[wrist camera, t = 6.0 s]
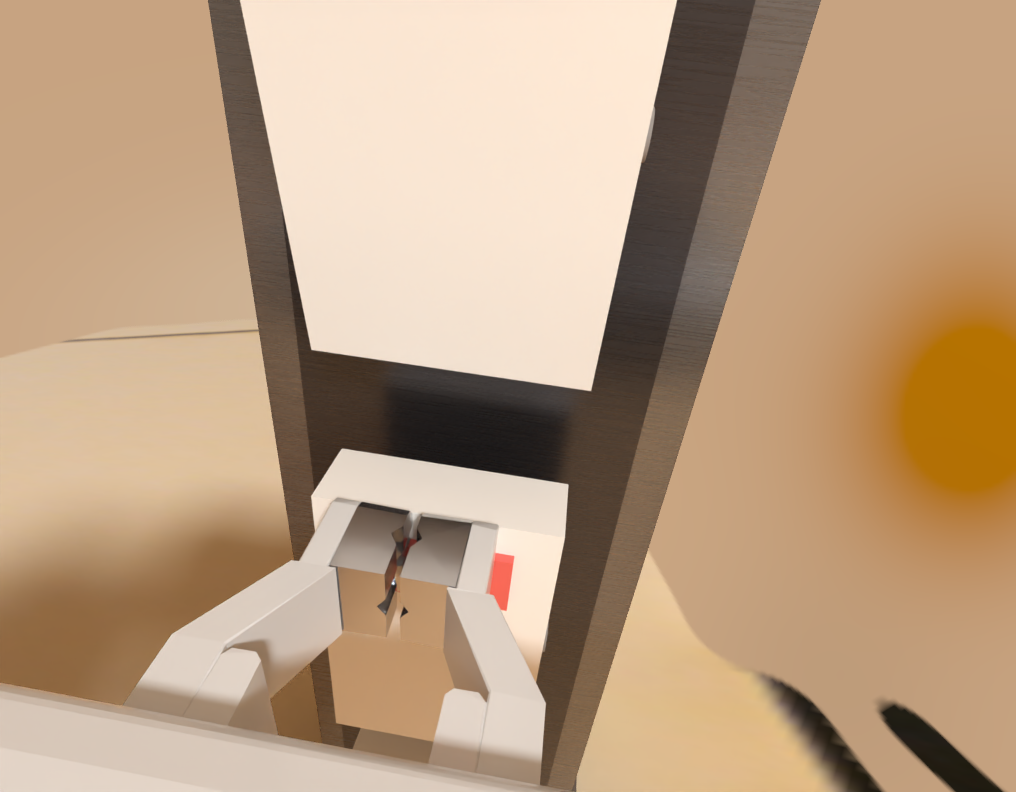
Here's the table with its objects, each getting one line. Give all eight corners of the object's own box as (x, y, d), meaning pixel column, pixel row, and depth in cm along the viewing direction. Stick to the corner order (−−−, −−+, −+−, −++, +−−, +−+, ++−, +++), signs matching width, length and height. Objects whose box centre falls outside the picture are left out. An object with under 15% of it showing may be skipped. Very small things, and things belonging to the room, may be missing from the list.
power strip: (566, 930, 25) (1704, -1783, 3) (295, 874, 25) (-357, -1608, 4) (575, 703, 33) (888, -436, 11) (371, 665, 34) (304, -468, 12)
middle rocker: (523, 766, 15) (570, 546, 11) (329, 729, 15) (301, 502, 11) (530, 700, 16) (573, 485, 12) (353, 668, 17) (337, 447, 13)
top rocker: (596, 399, 10) (772, -367, 4) (301, 356, 10) (132, -405, 5) (599, 337, 11) (738, -309, 6) (338, 300, 11) (240, -343, 6)
